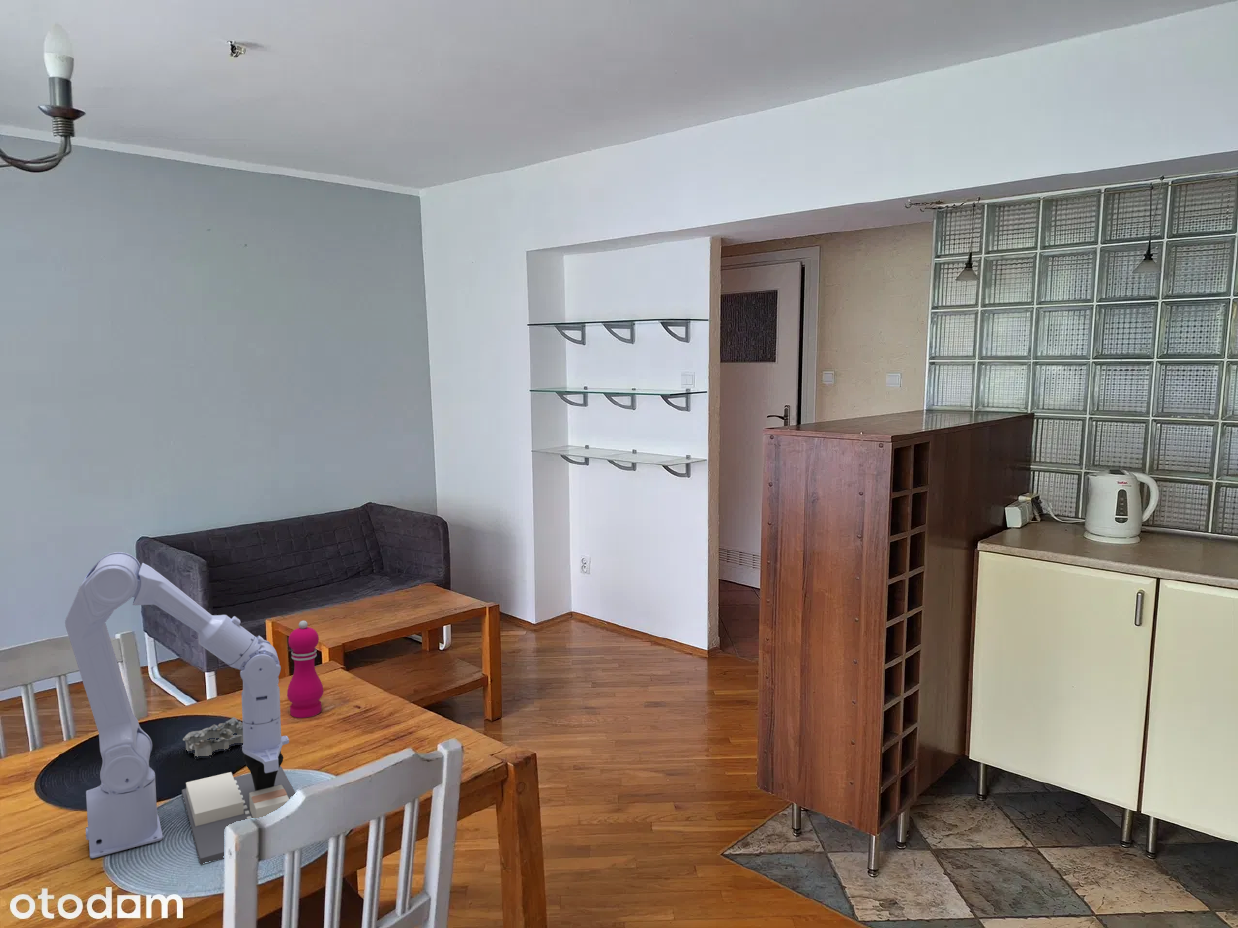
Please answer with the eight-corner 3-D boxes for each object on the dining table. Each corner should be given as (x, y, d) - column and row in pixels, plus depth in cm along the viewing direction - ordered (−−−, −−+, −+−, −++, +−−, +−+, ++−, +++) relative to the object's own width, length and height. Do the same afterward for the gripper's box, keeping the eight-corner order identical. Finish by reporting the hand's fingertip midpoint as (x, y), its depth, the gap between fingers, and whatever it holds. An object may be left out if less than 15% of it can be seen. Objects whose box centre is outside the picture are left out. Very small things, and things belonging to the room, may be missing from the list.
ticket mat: (200, 864, 121) (199, 845, 121) (182, 795, 141) (181, 778, 141) (313, 832, 130) (313, 814, 130) (281, 771, 150) (280, 755, 150)
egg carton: (198, 763, 154) (196, 742, 153) (180, 751, 158) (179, 730, 158) (254, 744, 162) (253, 723, 161) (236, 733, 166) (235, 713, 166)
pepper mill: (286, 708, 178) (283, 617, 176) (322, 703, 181) (319, 614, 179) (288, 721, 172) (285, 627, 169) (325, 715, 175) (322, 623, 172)
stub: (256, 826, 130) (256, 807, 129) (249, 810, 135) (249, 791, 134) (290, 817, 133) (289, 798, 132) (282, 801, 138) (281, 783, 137)
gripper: (297, 727, 132) (300, 808, 133) (278, 697, 144) (280, 772, 145) (249, 737, 128) (252, 821, 129) (233, 706, 140) (236, 782, 141)
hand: (264, 796), depth 137 cm, fingers closed
